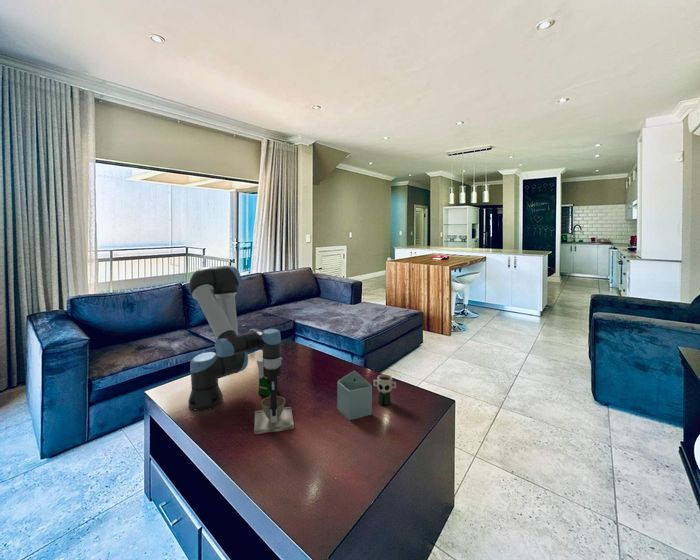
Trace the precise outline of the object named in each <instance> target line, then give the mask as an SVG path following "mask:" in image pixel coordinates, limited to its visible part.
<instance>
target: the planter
mask: <svg viewBox="0 0 700 560" xmlns="http://www.w3.org/2000/svg"><path fill="white" fill-rule="evenodd" d="M354 380H355V381H354ZM337 410H338V411H339V412H340V413H341V414H342V415H343V416H344V417H345V418H346V419H347V420H348V421H352V420H356V419H357V420H358V419H361V418H364V416H365V417H369V416H372V415H371V414H373V386H372V384H371V383H370V382H369V381H368V380H366V378H365V377H363V376H362V375H361V374H360V373H358V372H357V370H353V371H351V372H350V373H348V374H346V375H344V376H343V377H342V378H340V379H338V380H337ZM368 415H369V416H368Z"/></svg>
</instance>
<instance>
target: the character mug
mask: <svg viewBox="0 0 700 560" xmlns="http://www.w3.org/2000/svg"><path fill="white" fill-rule="evenodd" d="M372 384H373V387H377V390H378V396H377V397H378V398H377V403H378V404H380V405H381V404H382V405H385V406H388V405H387V404H389V405H391V402H392V400H391V399H392V397H391V391H392V389H397V382H396V381H393V377H392V376H391V374H386V373H385V374H379V375H377V379H373V383H372Z"/></svg>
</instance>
